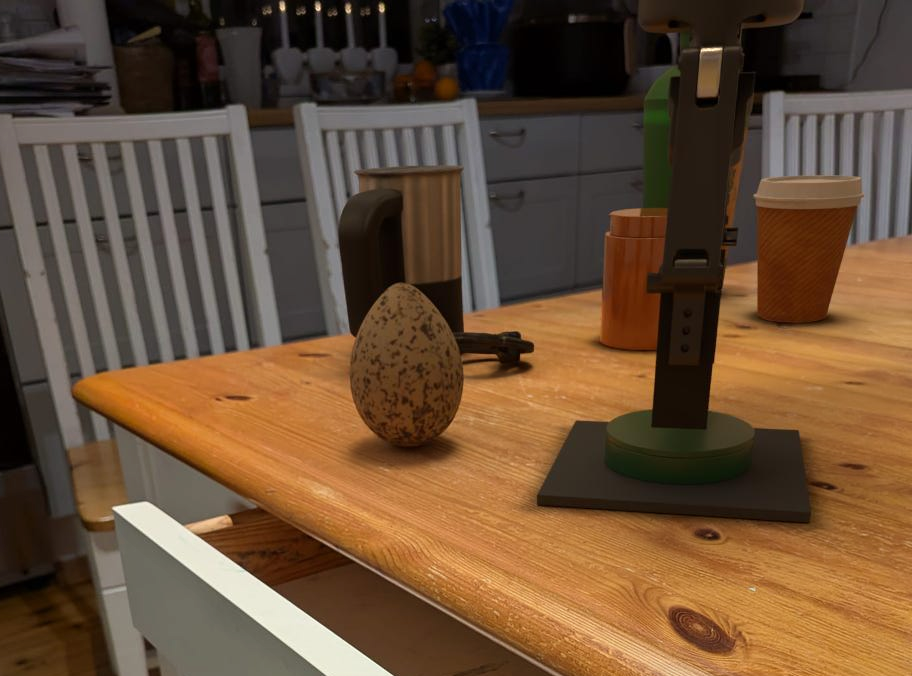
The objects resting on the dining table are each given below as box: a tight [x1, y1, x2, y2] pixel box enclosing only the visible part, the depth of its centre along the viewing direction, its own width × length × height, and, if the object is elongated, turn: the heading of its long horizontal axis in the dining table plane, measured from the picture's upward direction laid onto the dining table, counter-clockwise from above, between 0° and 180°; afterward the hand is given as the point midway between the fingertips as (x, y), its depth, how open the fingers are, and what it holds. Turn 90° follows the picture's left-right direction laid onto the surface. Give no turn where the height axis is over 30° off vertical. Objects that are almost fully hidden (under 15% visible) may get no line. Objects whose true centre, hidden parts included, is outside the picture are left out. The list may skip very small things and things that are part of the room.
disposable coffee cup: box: [753, 174, 866, 324], centre depth 89 cm, size 10×10×12 cm
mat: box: [536, 419, 812, 524], centre depth 56 cm, size 14×14×1 cm
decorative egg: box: [349, 282, 465, 448], centre depth 60 cm, size 7×7×10 cm
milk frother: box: [337, 164, 535, 365], centre depth 80 cm, size 14×16×15 cm
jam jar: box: [599, 207, 668, 351], centre depth 83 cm, size 8×8×11 cm
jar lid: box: [605, 408, 755, 485], centre depth 55 cm, size 8×8×2 cm
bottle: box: [642, 32, 751, 289], centre depth 98 cm, size 11×11×28 cm
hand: (686, 391), depth 54 cm, fingers open, 13 cm apart
